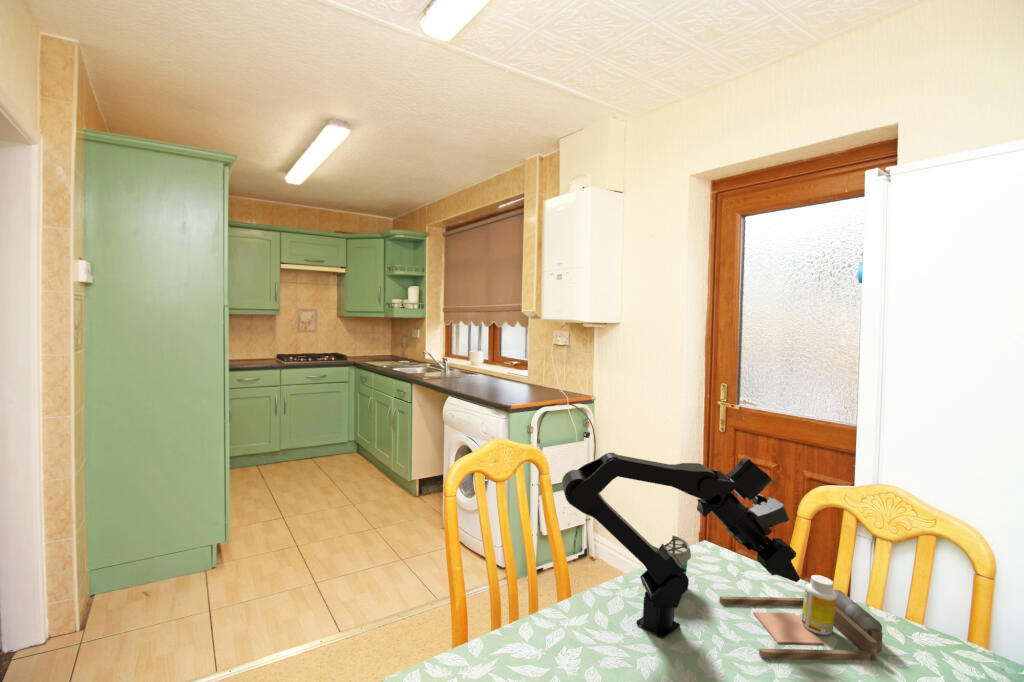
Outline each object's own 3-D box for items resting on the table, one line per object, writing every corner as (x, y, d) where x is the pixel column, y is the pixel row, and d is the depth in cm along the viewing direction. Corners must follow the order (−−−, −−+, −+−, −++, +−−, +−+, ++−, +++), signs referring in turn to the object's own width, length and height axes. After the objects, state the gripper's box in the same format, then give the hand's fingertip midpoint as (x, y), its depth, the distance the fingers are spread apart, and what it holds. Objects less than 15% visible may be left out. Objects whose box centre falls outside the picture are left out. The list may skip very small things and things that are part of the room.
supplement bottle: (839, 635, 103) (845, 586, 102) (816, 637, 101) (822, 587, 101) (816, 619, 108) (822, 572, 108) (794, 620, 107) (800, 573, 106)
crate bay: (761, 658, 95) (762, 630, 95) (719, 601, 114) (720, 578, 114) (896, 660, 95) (898, 632, 95) (832, 603, 114) (833, 580, 114)
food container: (679, 604, 113) (681, 560, 112) (652, 594, 116) (654, 551, 116) (696, 582, 122) (698, 541, 122) (671, 573, 126) (673, 534, 126)
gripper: (787, 504, 94) (844, 563, 95) (741, 473, 113) (789, 523, 113) (743, 545, 94) (800, 604, 95) (704, 508, 113) (752, 557, 114)
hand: (785, 568), depth 104 cm, fingers open, 9 cm apart
